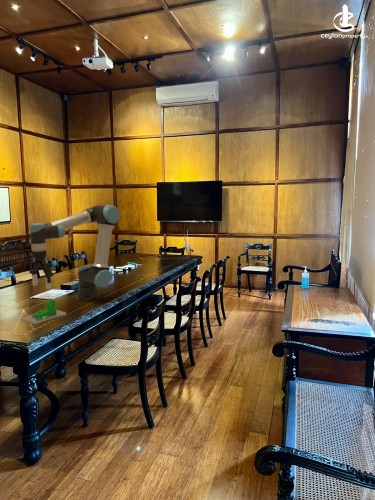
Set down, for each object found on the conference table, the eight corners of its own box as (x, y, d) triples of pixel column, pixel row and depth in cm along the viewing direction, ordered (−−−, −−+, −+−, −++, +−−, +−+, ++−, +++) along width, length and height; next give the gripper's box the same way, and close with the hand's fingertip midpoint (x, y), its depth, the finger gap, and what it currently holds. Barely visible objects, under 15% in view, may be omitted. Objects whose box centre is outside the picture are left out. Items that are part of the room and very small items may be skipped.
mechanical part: (49, 310, 211) (48, 297, 210) (56, 311, 208) (55, 298, 207) (32, 316, 200) (31, 303, 199) (40, 318, 197) (39, 304, 196)
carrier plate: (52, 310, 216) (52, 308, 216) (66, 314, 208) (65, 312, 207) (21, 319, 200) (20, 317, 200) (34, 324, 192) (34, 321, 191)
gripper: (20, 249, 202) (24, 285, 205) (45, 253, 188) (48, 291, 191) (32, 248, 208) (35, 282, 211) (57, 251, 194) (60, 288, 197)
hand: (42, 286), depth 201 cm, fingers open, 13 cm apart
